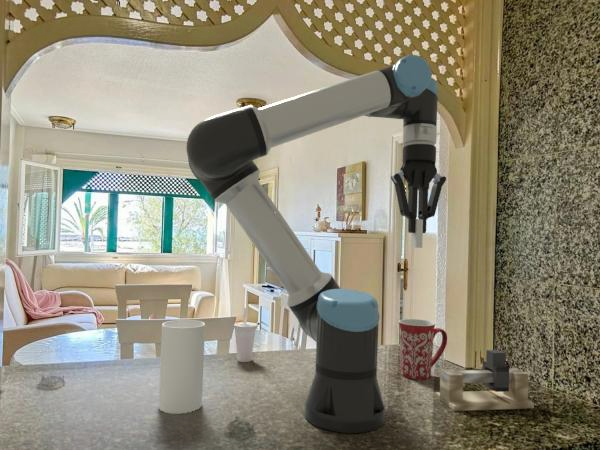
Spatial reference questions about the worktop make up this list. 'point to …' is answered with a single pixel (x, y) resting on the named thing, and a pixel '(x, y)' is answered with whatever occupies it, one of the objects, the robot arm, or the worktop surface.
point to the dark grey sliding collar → (497, 370)
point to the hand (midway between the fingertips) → (416, 247)
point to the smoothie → (244, 339)
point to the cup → (181, 366)
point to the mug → (418, 347)
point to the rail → (482, 400)
